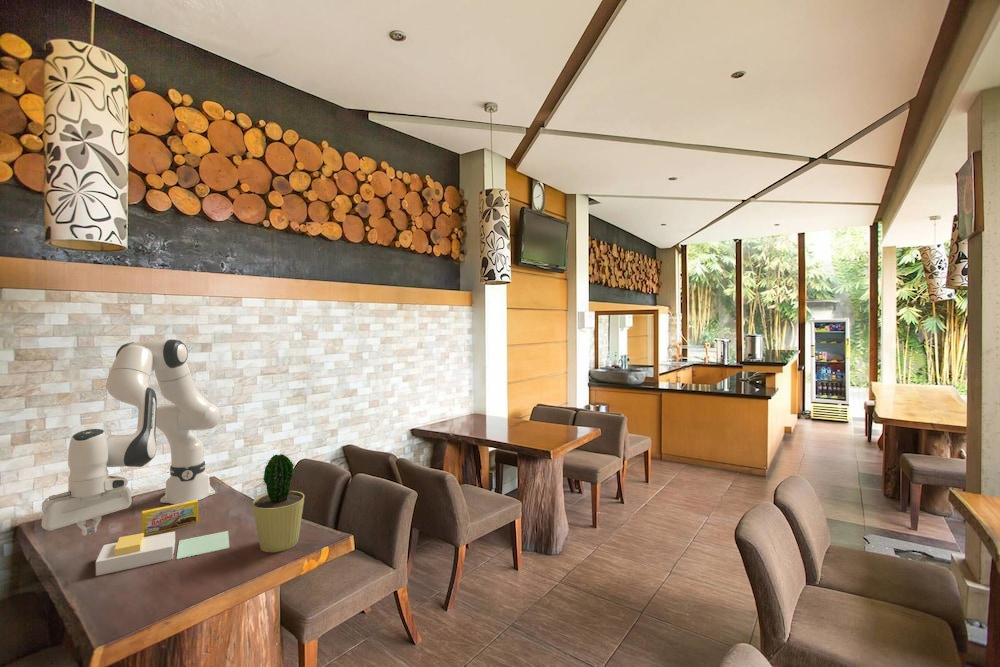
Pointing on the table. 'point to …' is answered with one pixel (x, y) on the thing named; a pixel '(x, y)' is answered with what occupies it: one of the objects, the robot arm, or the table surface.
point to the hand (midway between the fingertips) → (89, 533)
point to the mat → (203, 544)
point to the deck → (137, 554)
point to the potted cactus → (278, 507)
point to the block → (129, 544)
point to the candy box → (169, 517)
